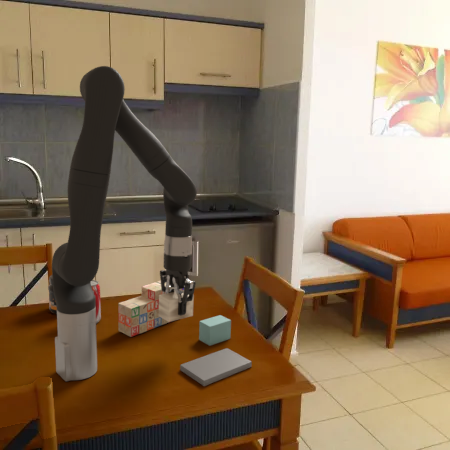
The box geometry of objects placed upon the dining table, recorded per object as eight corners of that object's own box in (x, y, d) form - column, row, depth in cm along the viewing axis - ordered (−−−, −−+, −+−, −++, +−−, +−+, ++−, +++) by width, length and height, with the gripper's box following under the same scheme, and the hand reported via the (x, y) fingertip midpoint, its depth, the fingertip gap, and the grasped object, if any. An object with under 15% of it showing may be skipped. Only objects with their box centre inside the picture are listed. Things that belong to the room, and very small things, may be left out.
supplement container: (45, 308, 162) (43, 274, 160) (75, 302, 168) (74, 269, 166) (54, 318, 154) (53, 282, 152) (86, 311, 160) (85, 277, 158)
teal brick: (209, 346, 138) (210, 326, 137) (199, 340, 142) (199, 321, 140) (230, 338, 143) (231, 320, 142) (219, 333, 147) (220, 315, 146)
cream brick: (168, 321, 127) (169, 300, 125) (158, 315, 130) (159, 295, 129) (192, 315, 132) (193, 295, 131) (182, 310, 135) (183, 290, 134)
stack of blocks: (131, 338, 141) (130, 299, 139) (118, 331, 145) (117, 293, 142) (182, 317, 157) (183, 281, 155) (169, 311, 161) (169, 277, 159)
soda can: (83, 328, 147) (82, 288, 145) (73, 320, 152) (72, 281, 150) (104, 322, 152) (104, 283, 149) (94, 315, 157) (93, 277, 155)
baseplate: (204, 386, 116) (204, 380, 116) (180, 370, 123) (180, 364, 123) (251, 366, 126) (251, 361, 126) (226, 352, 134) (227, 348, 133)
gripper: (151, 247, 130) (150, 306, 134) (181, 259, 120) (179, 323, 123) (174, 244, 135) (172, 301, 138) (205, 255, 125) (202, 317, 128)
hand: (175, 311), depth 131 cm, fingers closed on cream brick, 5 cm apart
